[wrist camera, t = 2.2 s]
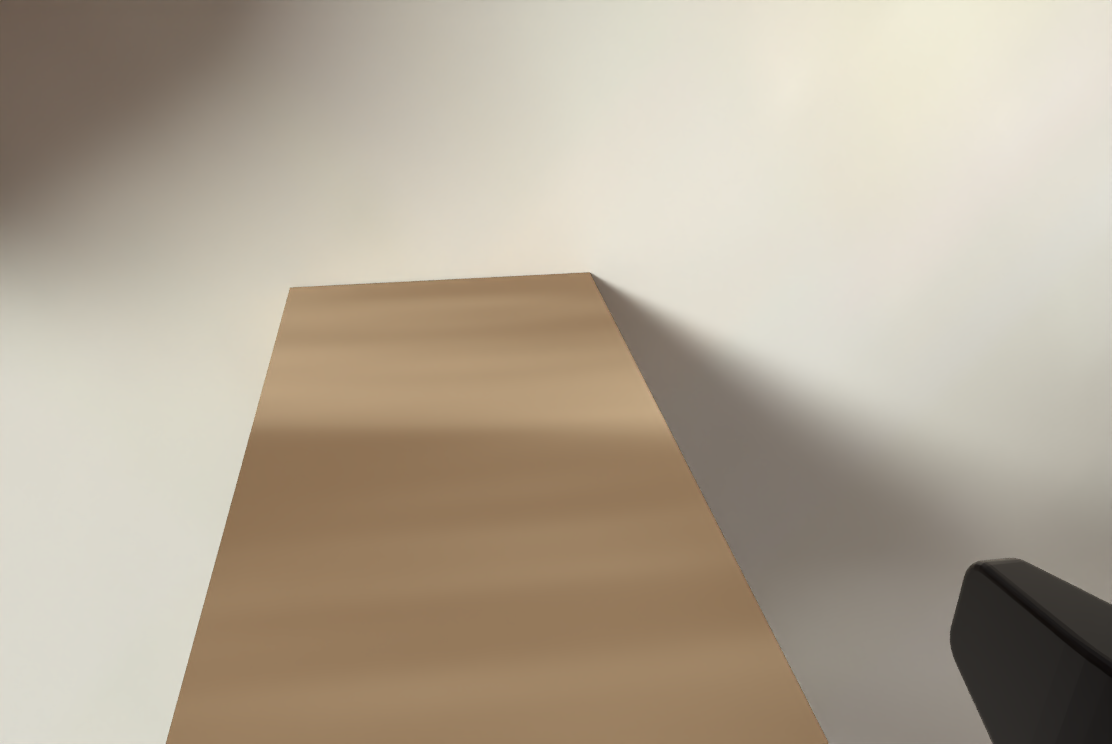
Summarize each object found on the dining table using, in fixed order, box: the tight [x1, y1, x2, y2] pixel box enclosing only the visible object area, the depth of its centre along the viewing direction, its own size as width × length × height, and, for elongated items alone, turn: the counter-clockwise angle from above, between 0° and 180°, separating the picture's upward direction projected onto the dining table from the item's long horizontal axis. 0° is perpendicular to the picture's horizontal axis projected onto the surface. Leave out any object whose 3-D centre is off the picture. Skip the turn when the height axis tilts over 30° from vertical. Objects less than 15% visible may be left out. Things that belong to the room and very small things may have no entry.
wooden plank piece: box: [166, 272, 828, 744], centre depth 9 cm, size 2×4×8 cm, turn 89°
